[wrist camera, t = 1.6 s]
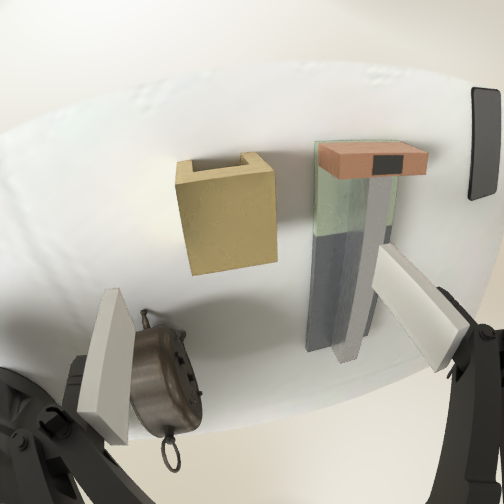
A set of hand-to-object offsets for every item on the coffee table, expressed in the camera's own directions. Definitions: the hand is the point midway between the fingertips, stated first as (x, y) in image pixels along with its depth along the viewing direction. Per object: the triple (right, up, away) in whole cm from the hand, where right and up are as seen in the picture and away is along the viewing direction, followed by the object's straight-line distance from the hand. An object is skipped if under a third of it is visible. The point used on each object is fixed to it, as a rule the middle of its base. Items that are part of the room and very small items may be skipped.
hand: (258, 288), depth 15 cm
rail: (+10, +1, +18) cm, 20 cm away
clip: (-3, +7, +11) cm, 13 cm away
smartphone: (+30, +16, +14) cm, 36 cm away
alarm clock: (-10, -7, +18) cm, 22 cm away
